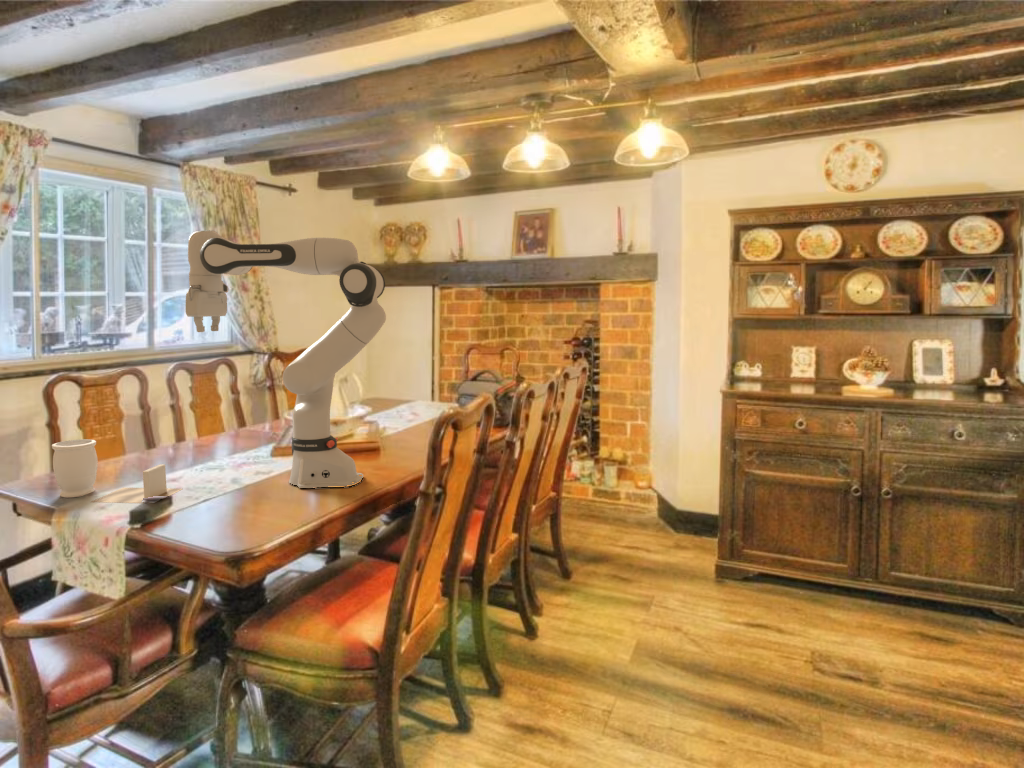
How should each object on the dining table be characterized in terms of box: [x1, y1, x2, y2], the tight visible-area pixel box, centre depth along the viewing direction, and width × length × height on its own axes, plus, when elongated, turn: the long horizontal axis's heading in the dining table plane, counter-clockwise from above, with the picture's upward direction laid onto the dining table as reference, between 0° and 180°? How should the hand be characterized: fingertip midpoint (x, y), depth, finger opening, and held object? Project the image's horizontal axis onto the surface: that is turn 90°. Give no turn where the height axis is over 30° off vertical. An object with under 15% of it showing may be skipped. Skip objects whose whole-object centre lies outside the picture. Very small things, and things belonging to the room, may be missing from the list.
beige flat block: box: [142, 463, 167, 498], centre depth 176 cm, size 2×8×8 cm, turn 179°
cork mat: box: [90, 487, 183, 504], centre depth 176 cm, size 18×14×1 cm
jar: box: [51, 438, 99, 499], centre depth 178 cm, size 11×10×15 cm
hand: (207, 331), depth 190 cm, fingers open, 8 cm apart
